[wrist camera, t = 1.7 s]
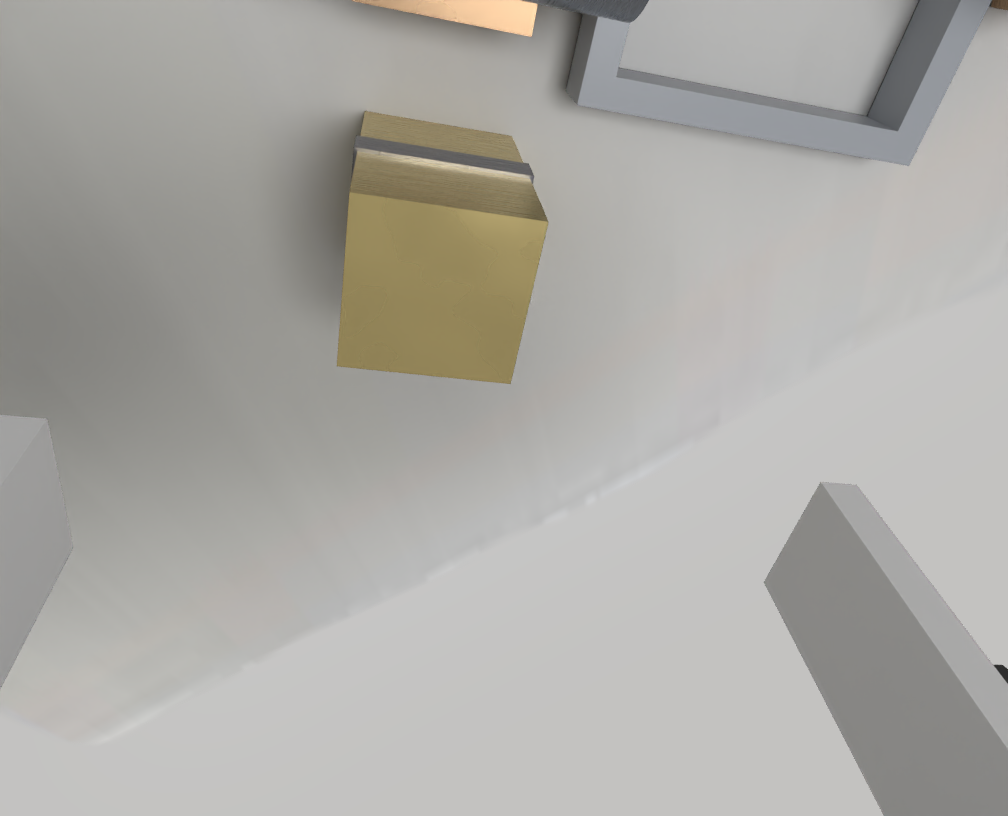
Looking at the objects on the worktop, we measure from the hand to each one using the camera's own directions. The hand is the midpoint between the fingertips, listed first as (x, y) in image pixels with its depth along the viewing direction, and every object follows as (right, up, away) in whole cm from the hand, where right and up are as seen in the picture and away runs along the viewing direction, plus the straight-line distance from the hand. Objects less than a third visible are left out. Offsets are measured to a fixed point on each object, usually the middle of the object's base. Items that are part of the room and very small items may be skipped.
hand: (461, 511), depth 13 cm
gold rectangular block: (-2, +9, +13) cm, 16 cm away
